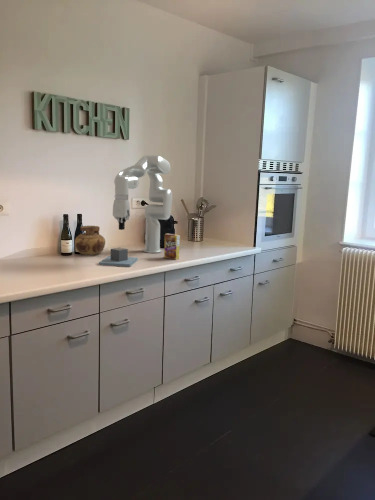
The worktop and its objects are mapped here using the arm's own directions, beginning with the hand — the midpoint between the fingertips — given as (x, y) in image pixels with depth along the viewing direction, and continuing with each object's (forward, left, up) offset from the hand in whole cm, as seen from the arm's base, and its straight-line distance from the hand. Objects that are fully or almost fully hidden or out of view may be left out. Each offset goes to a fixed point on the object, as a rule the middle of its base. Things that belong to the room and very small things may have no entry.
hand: (121, 229), depth 255 cm
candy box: (-19, +27, -20) cm, 39 cm away
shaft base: (+2, -1, -19) cm, 20 cm away
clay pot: (-17, -25, -20) cm, 36 cm away
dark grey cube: (+2, -1, -18) cm, 18 cm away
